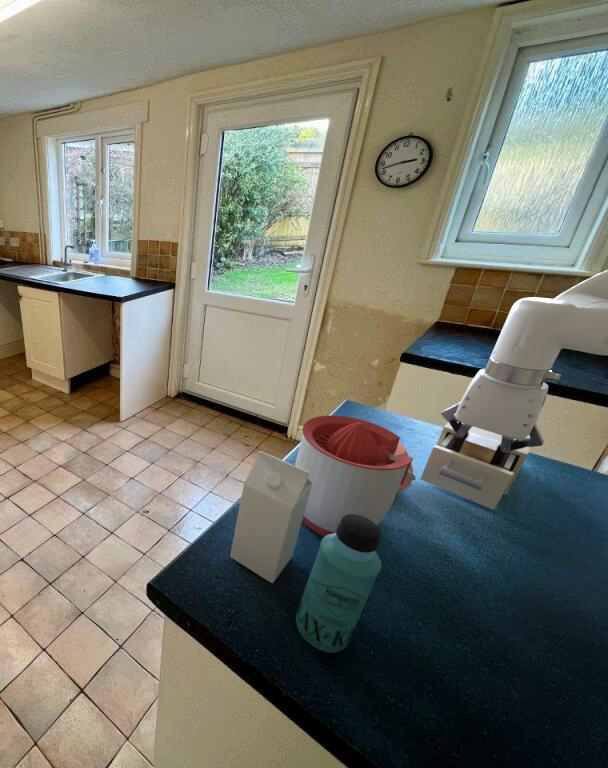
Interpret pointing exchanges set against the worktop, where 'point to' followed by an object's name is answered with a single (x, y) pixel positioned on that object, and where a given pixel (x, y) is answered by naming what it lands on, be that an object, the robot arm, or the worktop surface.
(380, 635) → the worktop surface
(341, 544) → the beverage bottle
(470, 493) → the drawer
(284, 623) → the worktop surface
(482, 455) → the block
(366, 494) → the citrus juicer
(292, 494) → the milk carton
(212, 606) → the worktop surface
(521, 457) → the cabinet
